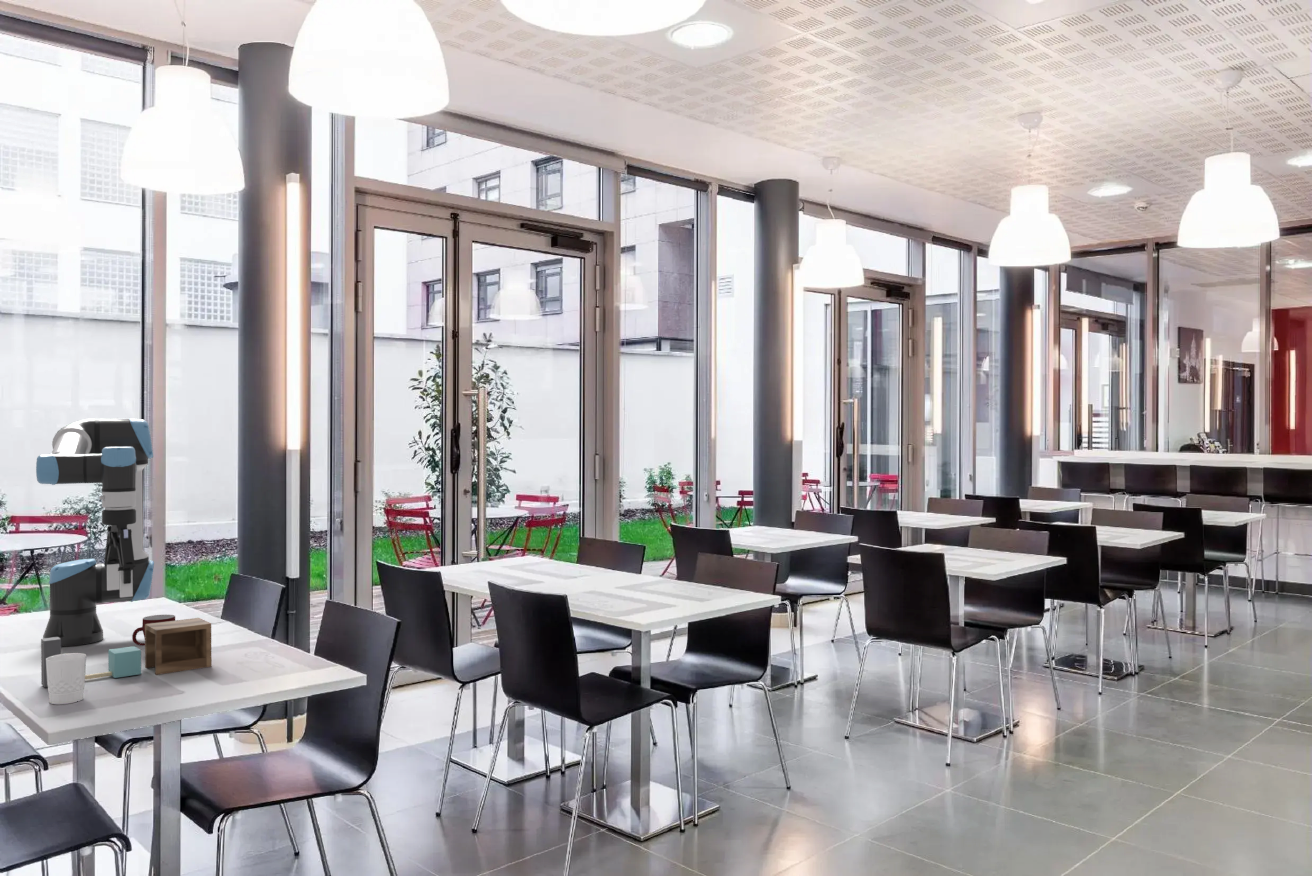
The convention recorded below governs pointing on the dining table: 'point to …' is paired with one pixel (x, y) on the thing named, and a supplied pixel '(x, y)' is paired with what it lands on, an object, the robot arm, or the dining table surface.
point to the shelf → (178, 645)
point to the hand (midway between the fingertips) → (119, 593)
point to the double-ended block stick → (118, 660)
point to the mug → (147, 621)
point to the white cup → (66, 677)
